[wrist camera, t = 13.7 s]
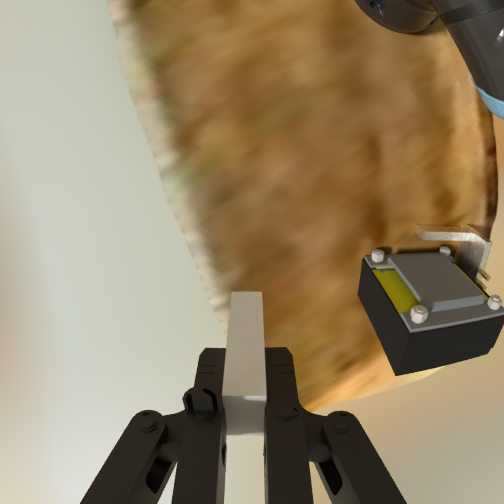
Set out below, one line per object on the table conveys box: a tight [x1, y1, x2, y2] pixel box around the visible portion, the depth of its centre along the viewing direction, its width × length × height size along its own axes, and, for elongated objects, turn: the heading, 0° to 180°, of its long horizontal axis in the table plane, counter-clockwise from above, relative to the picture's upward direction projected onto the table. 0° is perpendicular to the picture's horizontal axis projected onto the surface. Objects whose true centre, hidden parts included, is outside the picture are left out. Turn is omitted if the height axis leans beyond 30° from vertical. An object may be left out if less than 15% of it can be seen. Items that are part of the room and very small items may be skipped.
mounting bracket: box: [415, 224, 492, 291], centre depth 47 cm, size 17×12×10 cm
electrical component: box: [358, 246, 504, 376], centre depth 43 cm, size 18×10×20 cm, turn 93°
